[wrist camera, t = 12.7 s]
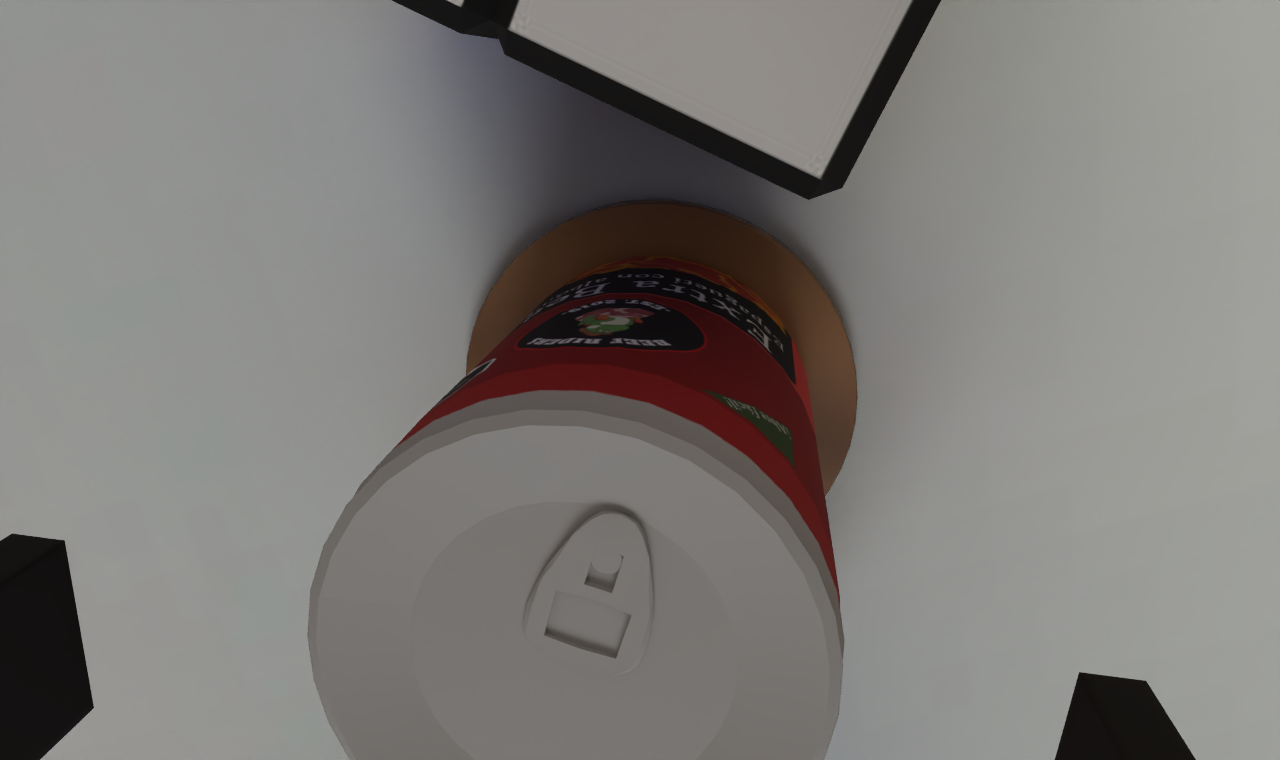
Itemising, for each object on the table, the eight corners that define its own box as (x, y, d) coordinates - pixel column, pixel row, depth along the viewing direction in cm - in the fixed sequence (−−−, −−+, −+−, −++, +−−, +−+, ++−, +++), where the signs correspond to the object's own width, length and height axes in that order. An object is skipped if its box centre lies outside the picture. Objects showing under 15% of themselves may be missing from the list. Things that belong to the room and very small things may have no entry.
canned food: (820, 252, 21) (874, 421, 10) (798, 554, 23) (825, 930, 13) (502, 242, 22) (265, 390, 11) (515, 533, 24) (330, 868, 14)
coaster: (471, 183, 22) (465, 185, 21) (884, 218, 21) (887, 221, 20) (470, 541, 25) (464, 550, 25) (827, 586, 24) (828, 597, 24)
